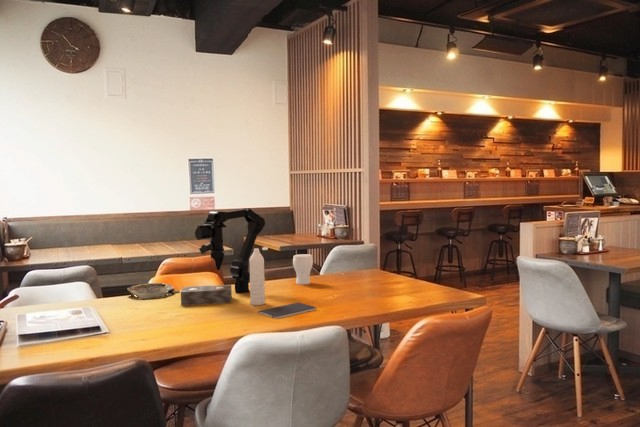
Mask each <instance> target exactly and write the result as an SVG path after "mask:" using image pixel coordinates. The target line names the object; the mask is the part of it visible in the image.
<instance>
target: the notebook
mask: <svg viewBox="0 0 640 427" xmlns="http://www.w3.org/2000/svg"><path fill="white" fill-rule="evenodd" d="M316 308H317V307H316V306H312V305H309V304H306V303H302V302H294V303H288V304H284V305H280V306H276V307H271V308H266V309H265V308H264V309H260V310H258V312H257V313H258V314H260V315H263V316H266V317H270V318H272V319H276V320H277V319H282V318H286V317H290V316H291V317H292V316H295V315H300V314H303V313H309V312H313V311H316ZM308 311H309V312H308Z"/></svg>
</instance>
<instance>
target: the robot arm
mask: <svg viewBox="0 0 640 427" xmlns="http://www.w3.org/2000/svg"><path fill="white" fill-rule="evenodd" d="M239 218H244V220H245V222H246V223H247V226H246V227H247V233H246V237H245V239H244V242H243V243H242V247H241V250H240V253H239V255H238V257H237V259H233V260H232V261H231V264H230V266H229V268H230V270H229V272H230V275H231V276H232V279H233V280H235V281H234V292H235V293H236V294H241V293H250V271H248V270H249V260H250V257H251V255H252V251H253V249H254V246H255V242H256V240H257V237H258V235H259V234H260V233H261V232H263V229H264V228H265V226H266V220H265V218H264V217H262V216H260V214H257V213H256V212H255V211H253V209H251V208H247V207H244V208H241V209H235V210H228V211H219V210H218V211H215V210H214V211H213V210H212V211H209V213H208V215H207V218H206V220H205V221H204V223H203V224H202V225H201V224H198V225H196V229H195V231H194V235H195V238H196V240H198V241H201V240H209V239H210V240H209V241H210V242H209V243H206V244H202V245H201V246H198V250H199V252H200V254H201V255H204V254H205V253H207V252H210V258H211V259H212V260H214V263H215V267H216V270H217V271H220V269H221V268H222V267H221V266H222V263H223V260H224V258H225V247H224V232H223V229H224V228H227V225H226V224H224V223H225V222H227V221H228V220H232V219H233V220H234V219H239Z"/></svg>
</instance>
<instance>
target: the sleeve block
mask: <svg viewBox="0 0 640 427" xmlns="http://www.w3.org/2000/svg"><path fill="white" fill-rule="evenodd" d="M216 287H225V289H215V288H216ZM190 288H198V290H189V289H190ZM232 299H233V296H232V284H220V285H217V284H214V285H198V286H196V285H195V286H193V285H192V286H183V288H182V289H181V291H180V306H197V305H198V306H199V305H216V304H231V303H232Z"/></svg>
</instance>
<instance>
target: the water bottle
mask: <svg viewBox="0 0 640 427" xmlns="http://www.w3.org/2000/svg"><path fill="white" fill-rule="evenodd" d="M261 249H262V251H268V249H269V247H268V246H267V247H266V246H265V247H264V246H263V247H261ZM248 264H249V273H250V280H249V293H250V298H249V299H250V302H249V303H250V305H251V306H262V305H265V304H266V291H265V288H266V286H265V285H266V284H265V282H266V281H265V259H264V256H263V255H262V254H261V252H260V248H257V247H256V248H253V252H252V253H251V254H250V256H249V259H248Z"/></svg>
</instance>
